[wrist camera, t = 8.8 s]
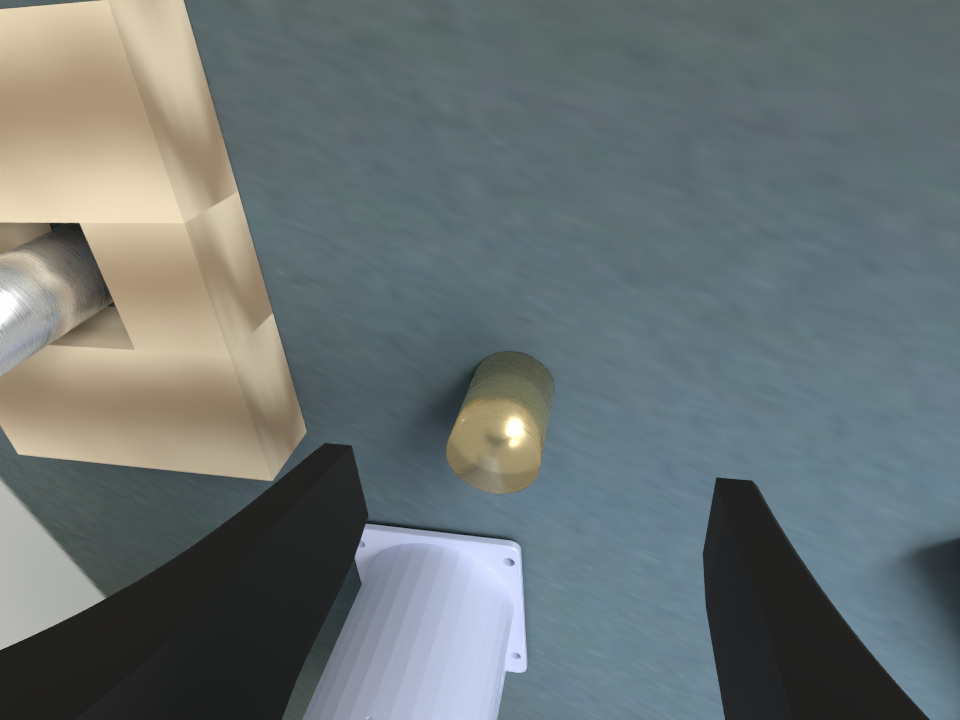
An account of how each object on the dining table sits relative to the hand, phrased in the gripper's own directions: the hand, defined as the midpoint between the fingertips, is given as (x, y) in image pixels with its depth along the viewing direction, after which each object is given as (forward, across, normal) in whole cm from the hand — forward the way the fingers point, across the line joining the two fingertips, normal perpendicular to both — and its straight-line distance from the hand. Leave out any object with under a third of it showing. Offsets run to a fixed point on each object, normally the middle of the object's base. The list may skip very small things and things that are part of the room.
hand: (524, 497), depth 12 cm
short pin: (+9, +2, +4) cm, 10 cm away
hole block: (+9, +17, -1) cm, 19 cm away
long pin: (+9, +17, -1) cm, 19 cm away
